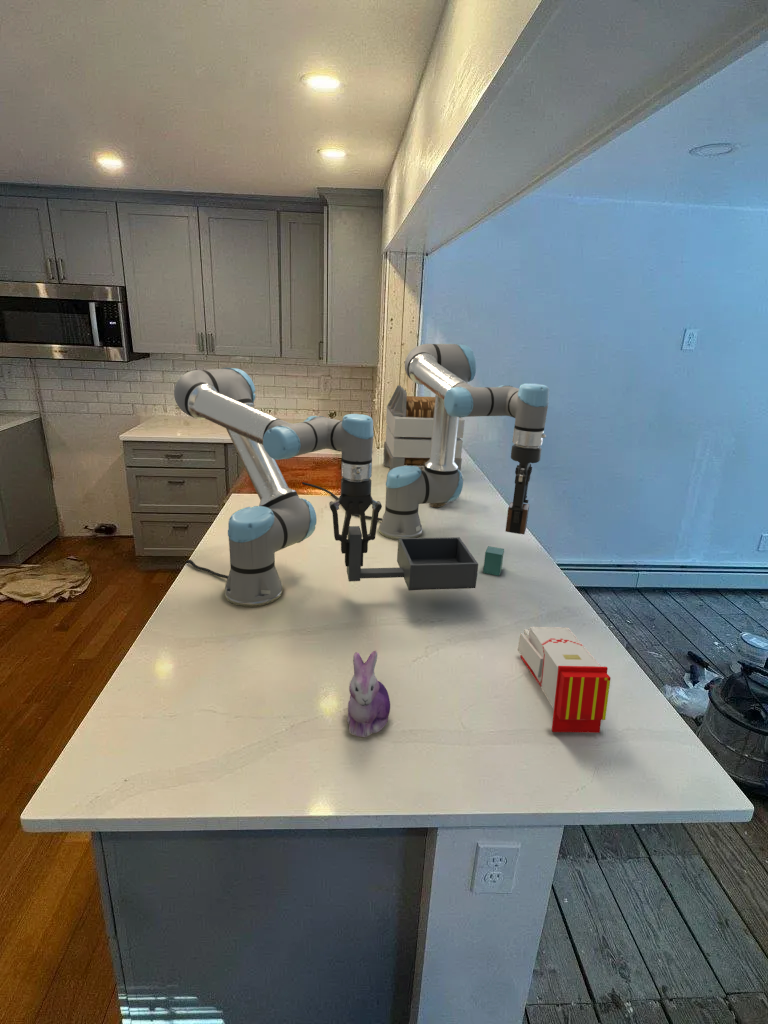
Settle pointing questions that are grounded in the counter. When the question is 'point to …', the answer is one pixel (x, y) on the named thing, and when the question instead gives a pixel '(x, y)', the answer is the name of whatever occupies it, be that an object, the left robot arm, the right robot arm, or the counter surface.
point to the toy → (566, 678)
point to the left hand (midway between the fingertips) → (353, 563)
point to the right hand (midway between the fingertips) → (516, 528)
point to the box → (420, 563)
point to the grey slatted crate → (412, 431)
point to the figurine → (367, 699)
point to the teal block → (493, 560)
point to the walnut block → (524, 518)
